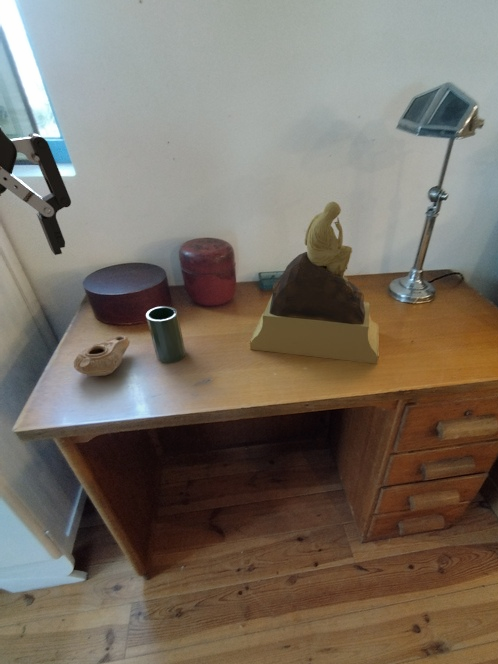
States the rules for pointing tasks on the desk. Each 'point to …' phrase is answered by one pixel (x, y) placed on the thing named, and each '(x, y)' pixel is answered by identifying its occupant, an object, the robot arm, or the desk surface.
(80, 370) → the pottery oil lamp
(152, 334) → the pot
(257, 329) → the seated thinker statue
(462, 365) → the desk surface
